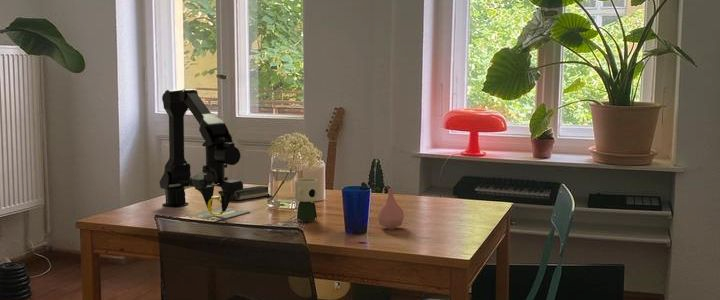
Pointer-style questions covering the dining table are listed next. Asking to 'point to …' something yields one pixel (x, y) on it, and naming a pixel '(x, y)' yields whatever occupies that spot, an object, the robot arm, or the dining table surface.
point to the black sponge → (250, 192)
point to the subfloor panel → (225, 215)
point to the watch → (210, 205)
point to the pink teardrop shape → (390, 212)
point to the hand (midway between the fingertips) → (216, 210)
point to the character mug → (306, 198)
